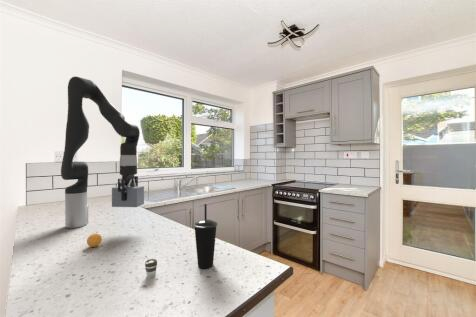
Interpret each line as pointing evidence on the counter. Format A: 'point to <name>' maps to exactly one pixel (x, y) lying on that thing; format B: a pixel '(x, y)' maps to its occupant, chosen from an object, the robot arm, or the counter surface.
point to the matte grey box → (128, 197)
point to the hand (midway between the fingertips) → (128, 198)
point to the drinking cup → (205, 241)
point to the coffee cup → (151, 267)
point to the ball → (94, 240)
